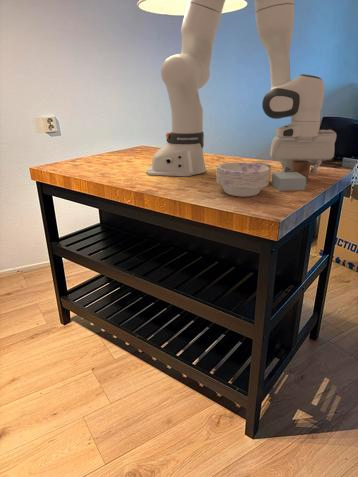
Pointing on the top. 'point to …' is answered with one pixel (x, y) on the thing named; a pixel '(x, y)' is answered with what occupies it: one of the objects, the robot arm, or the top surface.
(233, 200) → the top surface
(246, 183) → the paper bowls
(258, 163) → the beech block
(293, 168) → the walnut block
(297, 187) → the base block
